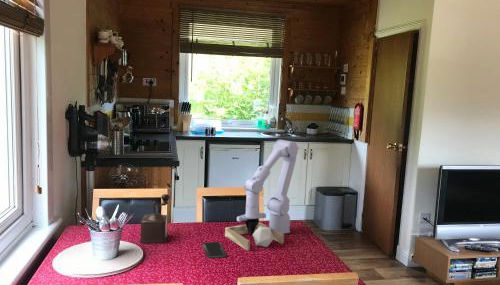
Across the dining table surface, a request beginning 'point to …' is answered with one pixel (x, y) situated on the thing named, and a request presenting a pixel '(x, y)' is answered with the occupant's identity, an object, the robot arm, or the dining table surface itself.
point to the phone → (214, 250)
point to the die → (263, 236)
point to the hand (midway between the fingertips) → (250, 234)
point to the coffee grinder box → (155, 225)
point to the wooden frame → (236, 232)
